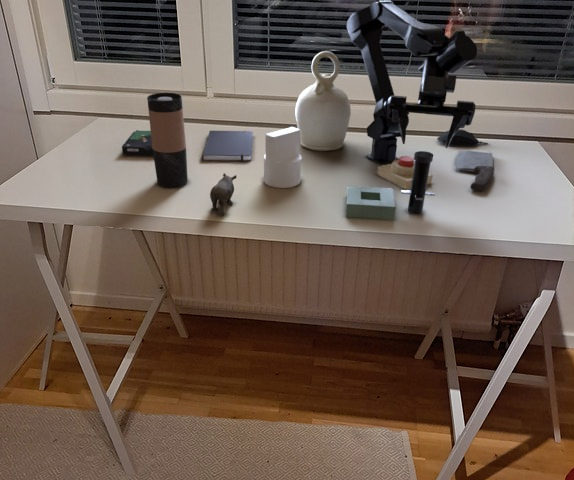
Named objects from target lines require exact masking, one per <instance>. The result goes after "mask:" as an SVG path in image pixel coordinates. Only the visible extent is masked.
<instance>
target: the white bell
mask: <svg viewBox="0 0 574 480" xmlns="http://www.w3.org/2000/svg"><path fill="white" fill-rule="evenodd" d="M323 58H328V59H330V60H331V62H332V63H333V73H332V74H331V73H323V74H321V73H320V72H319V70H318V64H319V62H320V60H321V59H323ZM340 70H341V64H340V60H339V58H338V57H337V56H336V54H334V53H333V52H332V51H330V50H322V51H319V52H318V53H317V54H316V55H315V56H314V57H313V59H312V62H311V73H312V75H313V77H314V78H315V79H316V80H315V83H313V84H311V85H309V86H308V87H307V88H305V89H304V90H303V91H302V92H301V93H300V95H299V97H298V98H297V101H296V104H295V120H296V128H297V129H300V146H302V147H304V148H306V149H308V150H312V151H319V152H327V151H328V152H330V151H335V150H339V149H340V148H341V149H342V147H343V145H344V142H345V139H346V136H347V132H348V129H349V123H350V120H351V116H352V115H351V113H352V112H351V111H352V110H351V102H350V100H349V96H348V95H347V93H345V92H344V90H343V89H342V88H340V87H339V86H337V85H335V84H334V82H335V80H336V79H337V78H338V76H339V75H340Z"/></svg>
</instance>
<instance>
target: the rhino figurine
mask: <svg viewBox="0 0 574 480" xmlns="http://www.w3.org/2000/svg"><path fill="white" fill-rule="evenodd" d="M236 179H237V174H235V175H233V176H229V175H227V174H226V173H225V172H223V174H222V178H220V179H219V180H218V182H217V183H216V184H215V185H214V186H212V188H211V189H210V193H209V198H210V201H211V203H212V207H211V209H210V211H211V212H212V213H217V212H218V216H225V215H226V212H225V211H224V207H225V205H233V204H234V203H233V201H232V200H231V199H232V197H233V194H234V192H235V185H234V183H233V182H234V180H236ZM217 206H218V207H217Z"/></svg>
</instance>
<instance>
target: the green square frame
mask: <svg viewBox="0 0 574 480" xmlns="http://www.w3.org/2000/svg"><path fill="white" fill-rule="evenodd" d="M345 203H346V206H345V208H346V209H345V217H347V218H361V219H362V218H363V219H375V220H391V221H394V220H395V213H396V200H395V193H394V188H392V187H374V186H373V187H372V186H359V185H358V186H357V185H347V188H346V202H345Z"/></svg>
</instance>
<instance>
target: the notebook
mask: <svg viewBox="0 0 574 480" xmlns="http://www.w3.org/2000/svg"><path fill="white" fill-rule="evenodd" d="M253 140H254V131H252V130H209V132H208V135H207V139H206V141H205V142H206V143H205V146H204V150H203V152H202V161H210V162H211V161H212V162H213V161H216V162H217V161H219V162H221V161H222V162H227V161H228V162H250V161H252V154H253Z"/></svg>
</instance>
